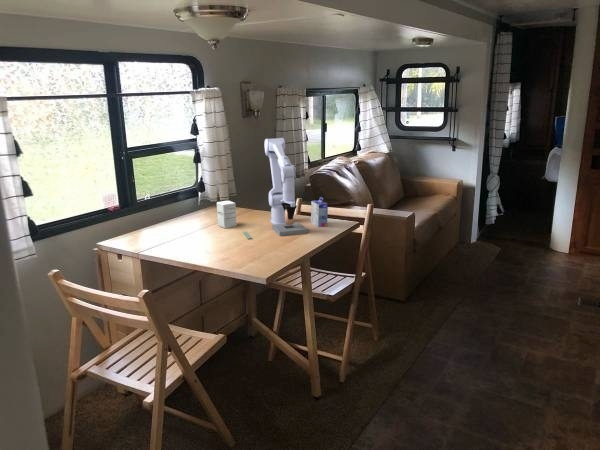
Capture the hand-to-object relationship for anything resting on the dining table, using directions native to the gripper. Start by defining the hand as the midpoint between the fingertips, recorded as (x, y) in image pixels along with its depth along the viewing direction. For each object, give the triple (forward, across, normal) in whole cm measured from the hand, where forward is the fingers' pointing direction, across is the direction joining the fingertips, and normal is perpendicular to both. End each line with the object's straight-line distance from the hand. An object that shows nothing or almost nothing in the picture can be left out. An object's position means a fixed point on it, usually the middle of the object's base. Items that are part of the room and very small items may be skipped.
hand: (289, 218), depth 240 cm
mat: (+7, -1, -16) cm, 17 cm away
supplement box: (+7, -22, -27) cm, 36 cm away
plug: (+3, 0, 0) cm, 3 cm away
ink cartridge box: (+7, -6, +18) cm, 20 cm away
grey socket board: (+7, 0, 0) cm, 7 cm away
